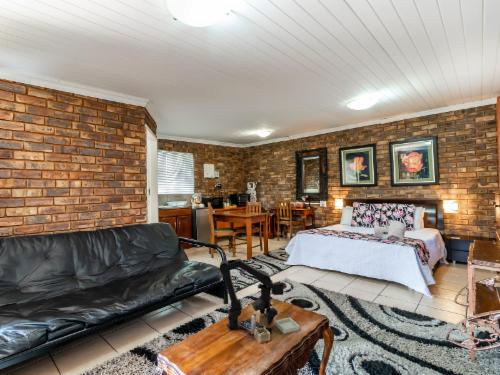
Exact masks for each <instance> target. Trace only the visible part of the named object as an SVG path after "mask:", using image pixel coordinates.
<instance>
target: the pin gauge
mask: <svg viewBox="0 0 500 375" xmlns="http://www.w3.org/2000/svg"><path fill="white" fill-rule="evenodd" d="M255 329H257V315H256V314H254V313H252V314H251V315H250V334H251V335H254V330H255Z"/></svg>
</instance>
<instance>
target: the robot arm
mask: <svg viewBox="0 0 500 375" xmlns="http://www.w3.org/2000/svg"><path fill="white" fill-rule="evenodd" d="M219 264H220V265H219V271H220V273H221V276H222V277H223V278H224V281H225V284H226V288H227V292H228V296H229V299H230V306H231V307H230V308H229V309H228V313H227V314H228V316H227V317H228V324H226V327H227V328H228V330H229V331H233V330H234V331H235V330H238V329H241V326H240V325H239V316H241V314H242V310H243V304H242V300H241V298H238V296H237V293H236V289H235V286H234V282H233V279H232V278H233V277H232V276H231V275H232V274H231V271H232V270H234V269H238V268H239V269H241V270H243V271H244V272H246V273H248V274H249V275H251V276H253V277H254V278H256V280H257V281H258V282H259V284H258V285H257V289H259V290H260V296H259V297H258V298H255V300H254V301H253V302H251V306H252V309H253V310H254V311H255V312H258V311H259V314H263V313H266V314H265V315H266V316H267V317H268V324H269V325H271V323H272V321H273V322H274V319H275V317H277V316H278V314H279V311H278V310H277V309H276V308H275V307H272V306H273V304H272V303H271V302H272V301H271V300H272V299H273V298H272V296H271V294H272V295H273V296H284V284H283V282H276V283H275V282H273V280H272V278H271V276H270V274H269V273H268V272H266V271H263V270H259V269H257V268H255V267H253V266H252V265H250V264H249V263H247V262H245V261H244V260H242V259H241V258H236V259H229V260H227V259H224V260H222V261H220V263H219ZM239 326H240V327H239Z"/></svg>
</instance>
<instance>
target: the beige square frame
mask: <svg viewBox="0 0 500 375" xmlns="http://www.w3.org/2000/svg"><path fill="white" fill-rule="evenodd" d="M262 332H264V333H263V334H260V333H262ZM253 335H254V338H255V340H256V341H257V342H258V344H261V343H262V344H263V343H264V342H269V341H271V332H270V331H269V330H268V328H267V329H266V328H265V327H263V328H262V327H259V328H256V329H255V330H254V334H253Z"/></svg>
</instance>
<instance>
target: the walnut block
mask: <svg viewBox="0 0 500 375" xmlns="http://www.w3.org/2000/svg"><path fill="white" fill-rule="evenodd" d="M265 314H266V313H263V314H260V313H259V314H258V316H259V317H258V318H259V319H258V320H259V321H258V322H259V323H260V324H262V325H263V326H266V327H269V328H268V329H270V328H273V327H274V320H273V321H272V323H271V325H269V324H268V317H267V316H266V315H265ZM259 323H258V324H259ZM260 324H259V325H260Z"/></svg>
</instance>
